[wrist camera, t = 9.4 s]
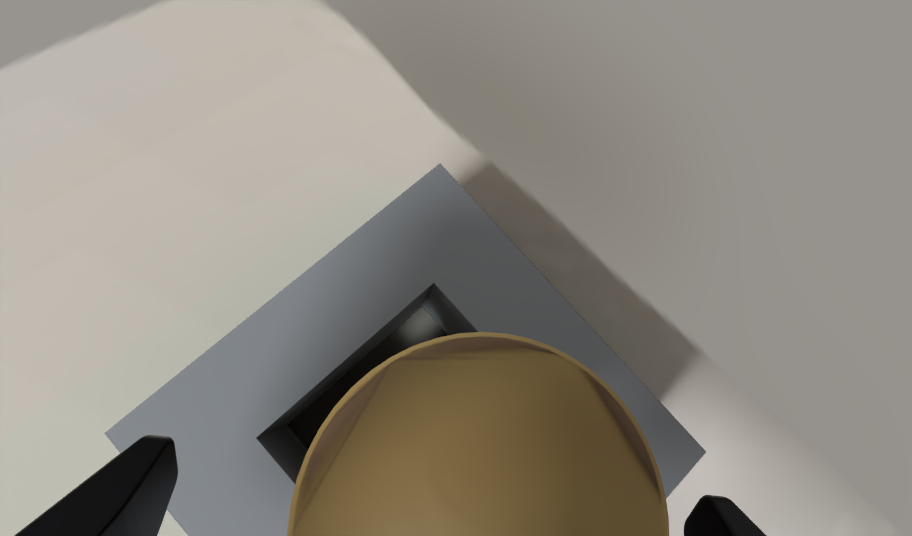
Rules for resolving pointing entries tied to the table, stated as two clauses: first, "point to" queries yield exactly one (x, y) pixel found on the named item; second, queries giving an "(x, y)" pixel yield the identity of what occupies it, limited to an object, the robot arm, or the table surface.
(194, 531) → the socket block
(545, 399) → the peg
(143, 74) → the table surface
